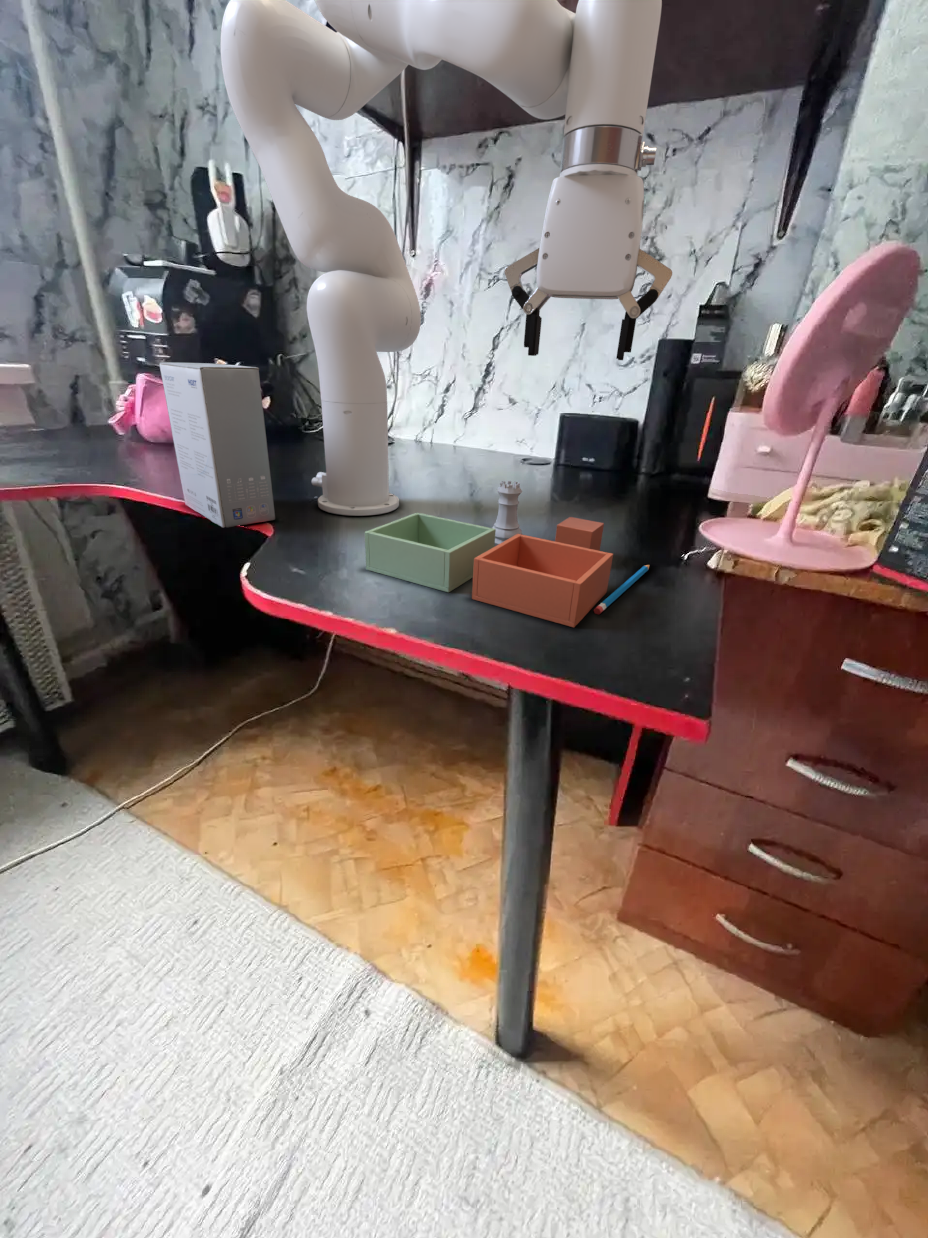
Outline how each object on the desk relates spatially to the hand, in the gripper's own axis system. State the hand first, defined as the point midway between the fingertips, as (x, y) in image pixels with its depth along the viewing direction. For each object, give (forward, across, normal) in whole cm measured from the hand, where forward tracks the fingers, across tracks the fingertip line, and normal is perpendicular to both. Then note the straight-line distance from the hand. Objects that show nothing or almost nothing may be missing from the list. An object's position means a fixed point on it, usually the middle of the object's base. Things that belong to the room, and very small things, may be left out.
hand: (575, 357), depth 61 cm
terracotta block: (+23, -3, +2) cm, 23 cm away
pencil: (+23, -10, +9) cm, 27 cm away
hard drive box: (+23, +47, +2) cm, 53 cm away
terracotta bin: (+23, -1, +15) cm, 27 cm away
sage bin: (+23, +13, +11) cm, 28 cm away
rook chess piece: (+23, +6, -1) cm, 24 cm away
